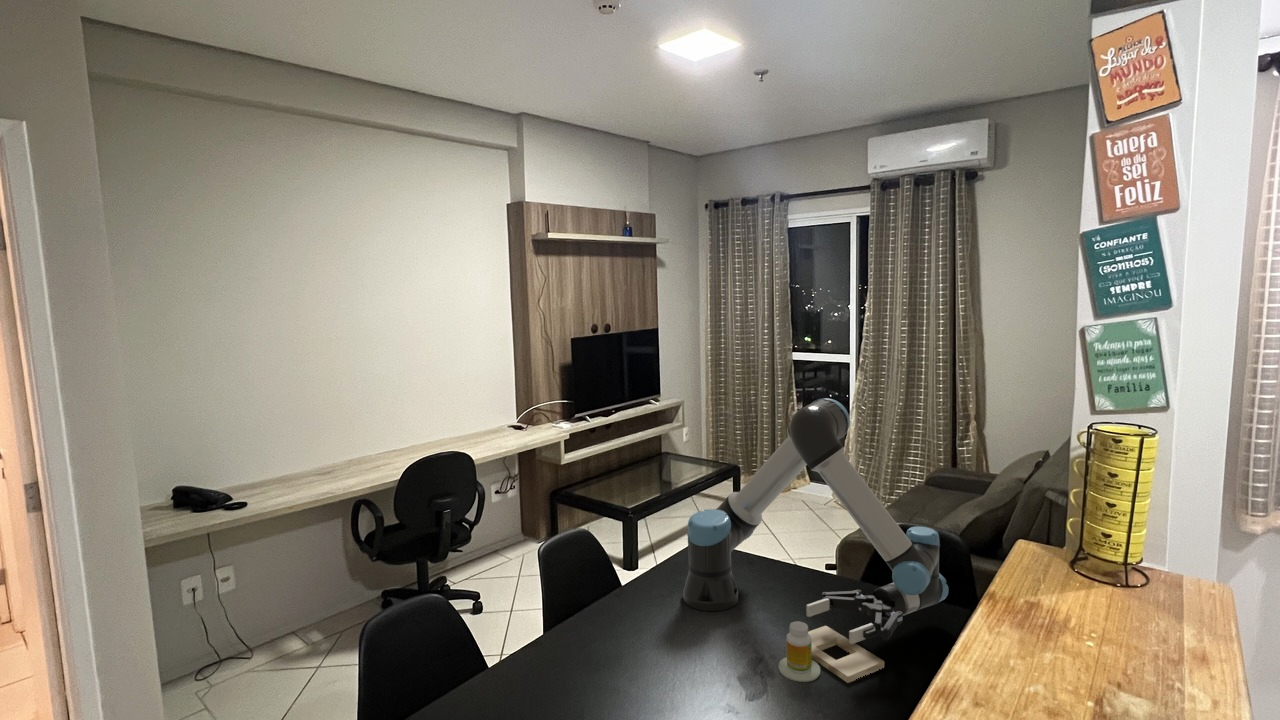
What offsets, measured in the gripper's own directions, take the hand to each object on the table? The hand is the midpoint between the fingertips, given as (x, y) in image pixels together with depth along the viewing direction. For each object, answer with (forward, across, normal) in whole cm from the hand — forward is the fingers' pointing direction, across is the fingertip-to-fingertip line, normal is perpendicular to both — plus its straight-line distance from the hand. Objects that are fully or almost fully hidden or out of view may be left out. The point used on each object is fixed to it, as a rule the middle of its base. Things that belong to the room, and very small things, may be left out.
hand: (827, 623), depth 146 cm
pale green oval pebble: (+8, 0, -8) cm, 12 cm away
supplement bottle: (+8, 0, -8) cm, 12 cm away
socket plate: (-2, 0, -8) cm, 9 cm away
